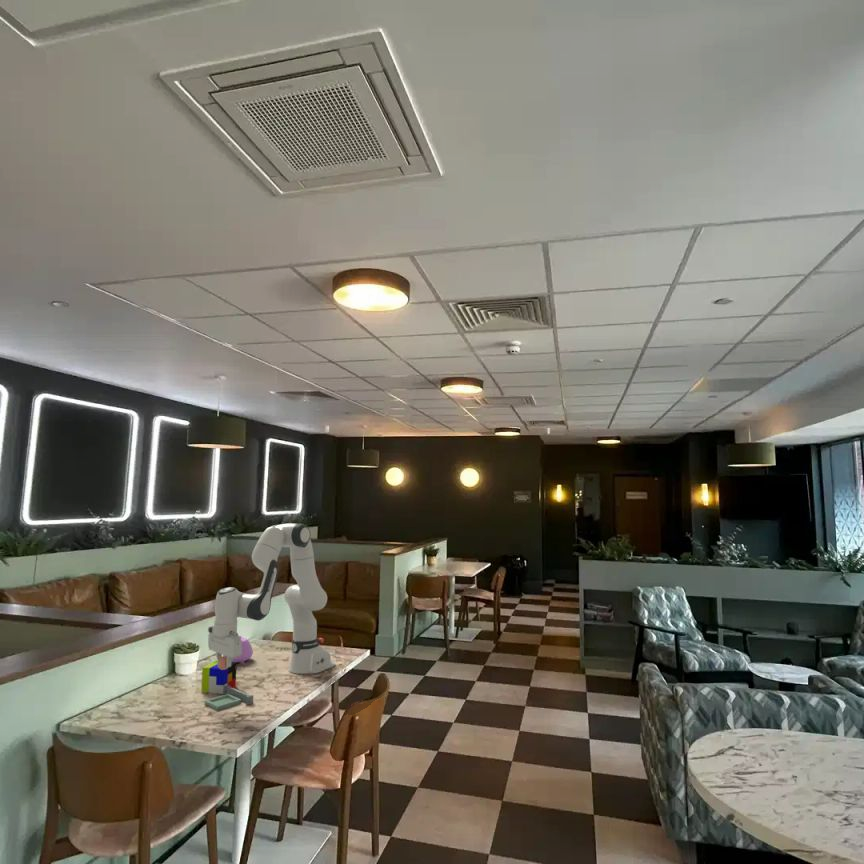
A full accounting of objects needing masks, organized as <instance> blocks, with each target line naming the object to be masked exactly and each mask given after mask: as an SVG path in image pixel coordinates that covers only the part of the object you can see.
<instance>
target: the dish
mask: <svg viewBox="0 0 864 864" xmlns="http://www.w3.org/2000/svg"><path fill="white" fill-rule="evenodd" d="M241 704H242V701H241V699H239V698H237V697H234V696H232V695H230V694H225V695H224V694H223V695H220V696H219V695H218V696H216V697H212V698H209V699H205V700H204V705H205V706H207V707H209V708H211V709H213V710H215V711H221V710H224V709H228V708H230V707H231V708H232V707H233V706H237V705H241Z"/></svg>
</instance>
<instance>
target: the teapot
mask: <svg viewBox="0 0 864 864" xmlns="http://www.w3.org/2000/svg"><path fill="white" fill-rule="evenodd" d="M239 637H240V638H241V646H242V654H241V656H240V657H236V658H233V660H232V662H237V663H239V664H243V665H244V664H245V661H248V660H249V659H251V658H252V657H253V655H254V652H253V646H252V644H251V642H250V641H249V640H248V638H246V637H243V636H242V635H239ZM224 656H226V655H223V654H222V657H224ZM226 657H227V656H226Z"/></svg>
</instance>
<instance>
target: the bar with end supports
mask: <svg viewBox="0 0 864 864" xmlns="http://www.w3.org/2000/svg"><path fill="white" fill-rule="evenodd" d="M226 694H230V695H232V696H234V697H237V698H239V699H241V702H242V703H245V704H246V705H247V706H248V705H251V704H254V695H253V694H248V693H245V692H244V691H241V690H240V689H239V690H238V689H236V688H235V687H233V688H232V687H230V685H227V686H223V695H226Z"/></svg>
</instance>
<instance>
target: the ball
mask: <svg viewBox="0 0 864 864" xmlns="http://www.w3.org/2000/svg"><path fill="white" fill-rule="evenodd" d="M225 662H227V657H226V656H224V657H223V656H222V657H221V658H220V659H219V660H218V663H217V665H218V668H219V669H221V670H225V669H227V668H228V667H226V666H225Z"/></svg>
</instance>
